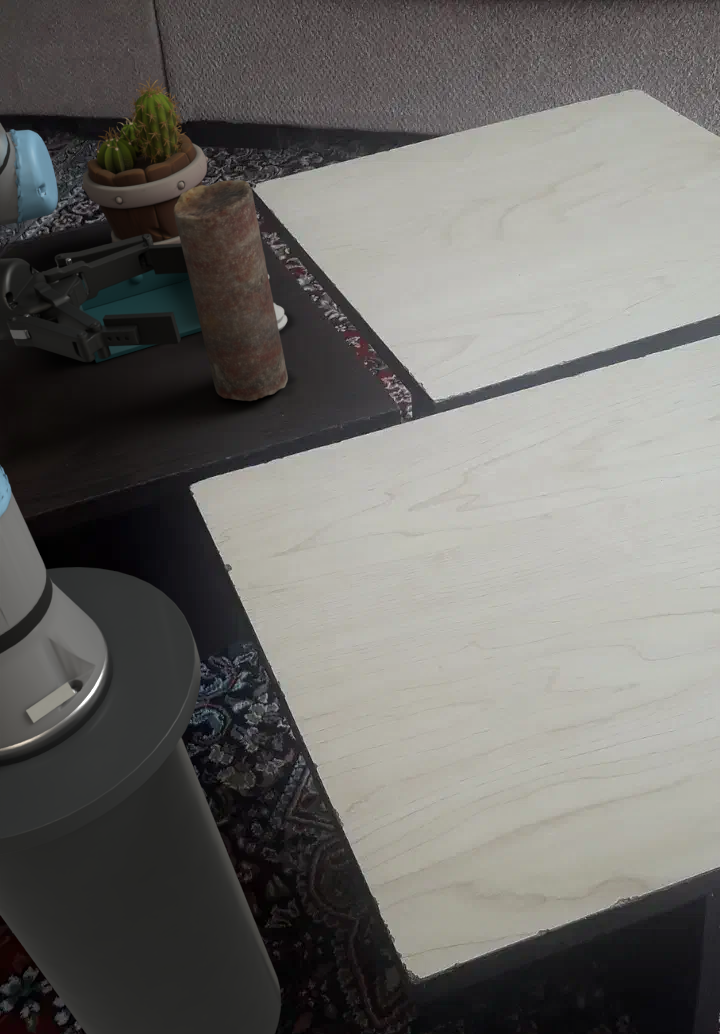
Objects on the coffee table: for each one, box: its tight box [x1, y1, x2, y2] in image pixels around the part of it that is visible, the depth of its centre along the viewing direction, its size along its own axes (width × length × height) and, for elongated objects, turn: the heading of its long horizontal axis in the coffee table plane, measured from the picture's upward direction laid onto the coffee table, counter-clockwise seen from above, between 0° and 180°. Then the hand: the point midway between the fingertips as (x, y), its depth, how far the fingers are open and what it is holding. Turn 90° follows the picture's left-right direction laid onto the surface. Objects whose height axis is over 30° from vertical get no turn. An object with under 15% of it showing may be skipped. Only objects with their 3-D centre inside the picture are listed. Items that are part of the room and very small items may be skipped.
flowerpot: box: [81, 74, 209, 245], centre depth 126 cm, size 14×15×20 cm
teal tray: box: [80, 270, 202, 364], centre depth 120 cm, size 17×15×4 cm
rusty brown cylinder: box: [174, 179, 289, 402], centre depth 99 cm, size 8×7×20 cm
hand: (196, 290), depth 99 cm, fingers open, 13 cm apart
